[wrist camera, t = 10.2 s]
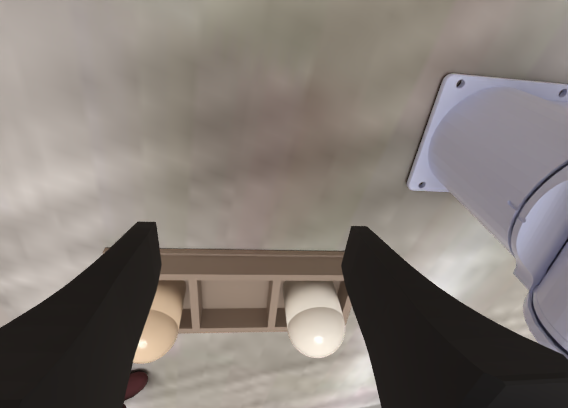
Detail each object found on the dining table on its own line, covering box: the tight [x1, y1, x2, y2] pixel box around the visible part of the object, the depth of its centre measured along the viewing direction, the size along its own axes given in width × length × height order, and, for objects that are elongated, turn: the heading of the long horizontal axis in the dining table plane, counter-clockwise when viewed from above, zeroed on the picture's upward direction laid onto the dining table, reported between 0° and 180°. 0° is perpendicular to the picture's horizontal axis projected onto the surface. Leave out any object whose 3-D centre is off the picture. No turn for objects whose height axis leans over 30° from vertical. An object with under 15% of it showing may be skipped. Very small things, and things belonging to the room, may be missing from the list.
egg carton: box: [103, 248, 352, 333], centre depth 27 cm, size 20×7×2 cm, turn 84°
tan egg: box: [133, 280, 186, 364], centre depth 24 cm, size 4×4×6 cm
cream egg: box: [283, 281, 345, 358], centre depth 26 cm, size 4×4×6 cm
